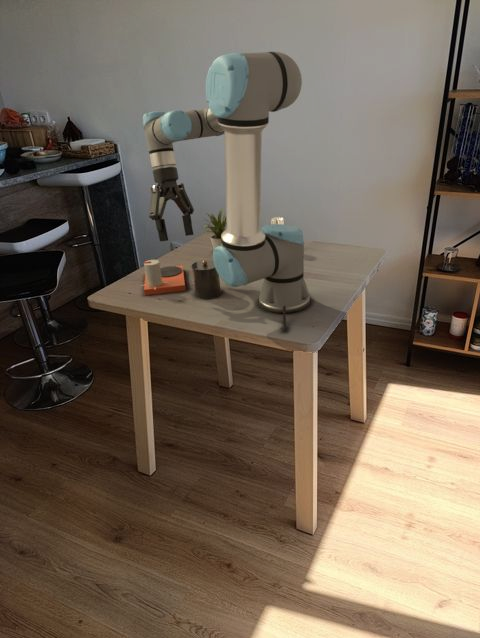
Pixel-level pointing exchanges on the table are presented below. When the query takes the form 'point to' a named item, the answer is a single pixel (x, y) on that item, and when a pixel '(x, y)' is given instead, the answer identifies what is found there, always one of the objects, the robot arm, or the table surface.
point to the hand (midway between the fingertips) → (177, 238)
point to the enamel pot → (206, 279)
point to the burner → (170, 271)
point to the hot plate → (167, 284)
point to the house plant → (216, 228)
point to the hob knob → (153, 273)
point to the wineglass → (277, 220)
